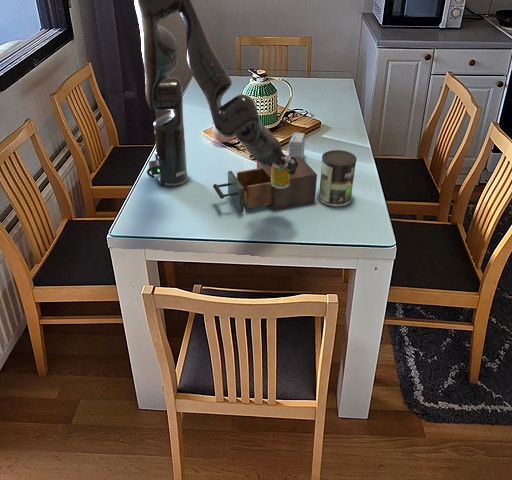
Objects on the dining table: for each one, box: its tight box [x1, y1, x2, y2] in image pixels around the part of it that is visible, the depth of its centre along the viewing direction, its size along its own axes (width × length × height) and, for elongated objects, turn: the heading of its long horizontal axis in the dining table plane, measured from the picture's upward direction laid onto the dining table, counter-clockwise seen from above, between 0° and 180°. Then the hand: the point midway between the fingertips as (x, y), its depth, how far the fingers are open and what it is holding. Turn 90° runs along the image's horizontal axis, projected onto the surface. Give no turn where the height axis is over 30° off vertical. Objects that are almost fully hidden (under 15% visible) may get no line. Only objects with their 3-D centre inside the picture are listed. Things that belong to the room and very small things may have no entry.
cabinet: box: [259, 156, 318, 211], centre depth 177 cm, size 14×13×10 cm
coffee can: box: [318, 149, 358, 207], centre depth 175 cm, size 10×10×14 cm
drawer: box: [212, 168, 273, 213], centre depth 173 cm, size 18×12×8 cm, turn 110°
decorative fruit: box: [211, 122, 237, 144], centre depth 207 cm, size 9×8×10 cm
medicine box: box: [288, 132, 306, 160], centre depth 197 cm, size 8×4×9 cm, turn 168°
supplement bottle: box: [271, 149, 290, 189], centre depth 160 cm, size 5×5×10 cm
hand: (284, 168), depth 162 cm, fingers closed on supplement bottle, 5 cm apart
